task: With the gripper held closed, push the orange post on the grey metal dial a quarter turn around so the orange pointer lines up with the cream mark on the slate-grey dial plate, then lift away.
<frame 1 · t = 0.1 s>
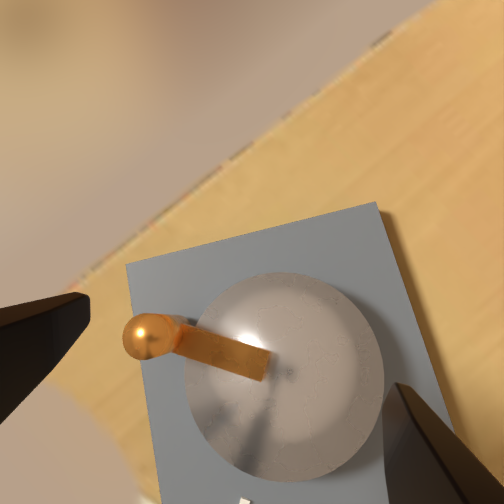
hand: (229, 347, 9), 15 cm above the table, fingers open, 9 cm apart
dial plate: (281, 362, 23), on the table
dial: (259, 365, 19), point 5 cm above the table, hinge at 0.0°
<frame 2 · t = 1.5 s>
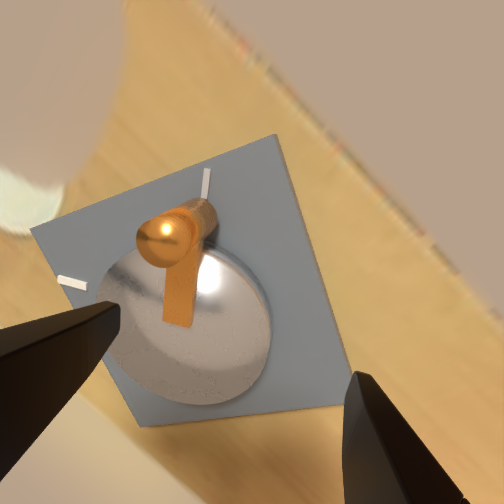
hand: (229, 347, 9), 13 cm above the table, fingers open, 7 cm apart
dial plate: (198, 304, 25), on the table
dial: (174, 321, 20), point 5 cm above the table, hinge at 0.0°
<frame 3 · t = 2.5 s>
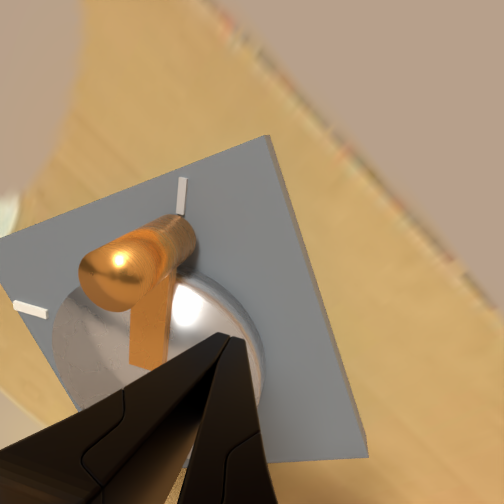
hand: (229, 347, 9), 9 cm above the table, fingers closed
dial plate: (179, 335, 21), on the table
dial: (143, 366, 16), point 5 cm above the table, hinge at 0.0°
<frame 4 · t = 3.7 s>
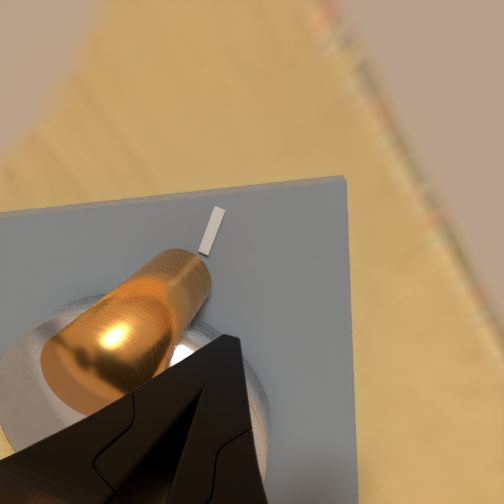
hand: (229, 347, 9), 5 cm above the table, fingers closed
dial plate: (162, 380, 17), on the table
dial: (116, 441, 12), point 5 cm above the table, hinge at 2.9°, touching gripper
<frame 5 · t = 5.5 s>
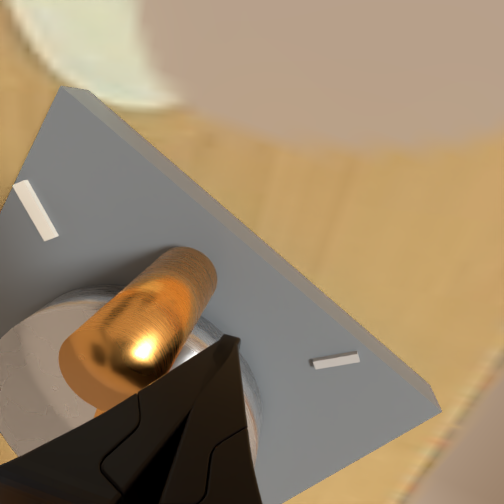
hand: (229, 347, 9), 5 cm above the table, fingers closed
dial plate: (154, 371, 17), on the table
dial: (112, 431, 12), point 5 cm above the table, hinge at 45.8°, touching gripper
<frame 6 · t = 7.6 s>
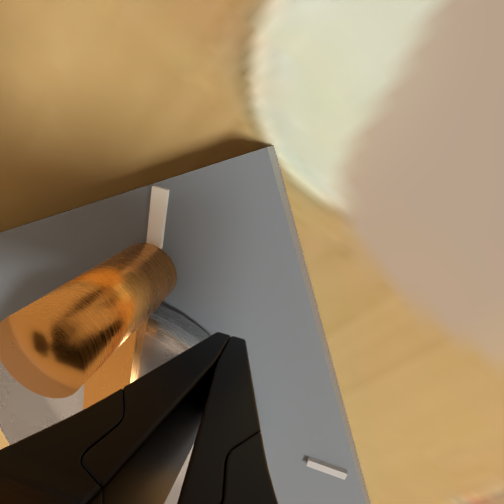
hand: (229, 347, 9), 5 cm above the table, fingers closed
dial plate: (153, 377, 17), on the table
dial: (99, 433, 13), point 5 cm above the table, hinge at 88.9°
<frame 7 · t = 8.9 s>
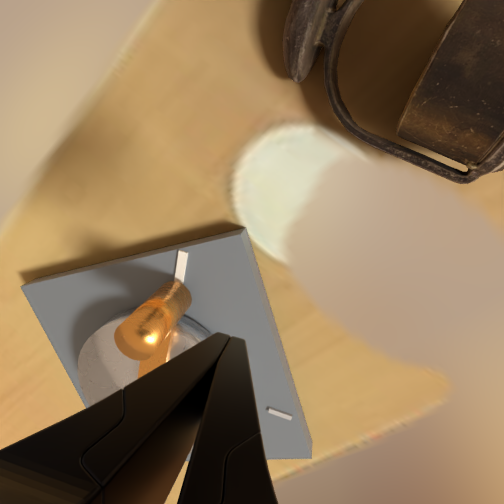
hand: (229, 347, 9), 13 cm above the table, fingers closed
dial plate: (173, 359, 27), on the table
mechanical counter: (411, 61, 17), on the table
dial: (147, 387, 22), point 5 cm above the table, hinge at 89.0°
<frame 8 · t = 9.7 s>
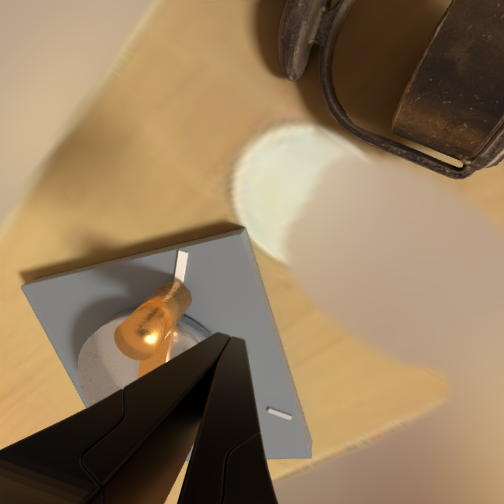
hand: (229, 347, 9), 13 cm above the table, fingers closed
dial plate: (173, 359, 27), on the table
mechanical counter: (405, 58, 17), on the table
dial: (147, 387, 22), point 5 cm above the table, hinge at 89.0°
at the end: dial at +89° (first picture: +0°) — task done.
